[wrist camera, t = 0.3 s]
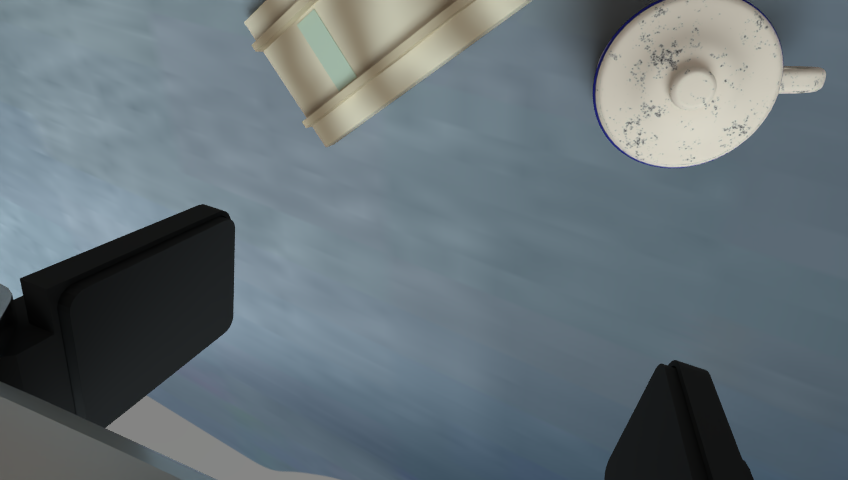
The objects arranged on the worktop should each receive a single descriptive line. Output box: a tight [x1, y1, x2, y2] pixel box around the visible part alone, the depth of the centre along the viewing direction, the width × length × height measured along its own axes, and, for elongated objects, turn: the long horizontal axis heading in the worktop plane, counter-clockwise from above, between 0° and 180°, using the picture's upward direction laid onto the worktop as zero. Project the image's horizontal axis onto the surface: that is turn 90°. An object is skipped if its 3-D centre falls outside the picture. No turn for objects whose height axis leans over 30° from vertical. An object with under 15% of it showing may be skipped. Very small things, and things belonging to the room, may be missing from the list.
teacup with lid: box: [593, 0, 826, 168], centre depth 27 cm, size 12×9×12 cm
